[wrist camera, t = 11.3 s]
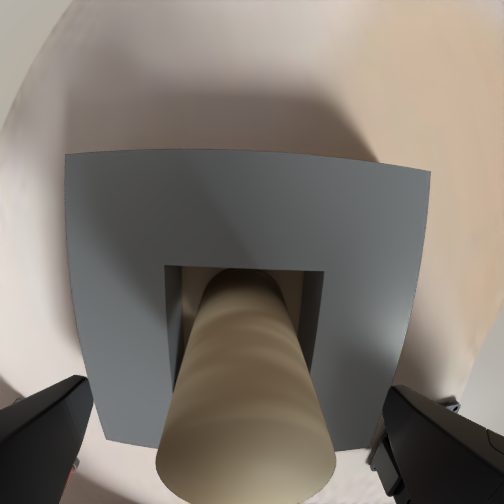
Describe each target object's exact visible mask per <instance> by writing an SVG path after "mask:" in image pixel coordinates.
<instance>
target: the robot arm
mask: <svg viewBox="0 0 504 504" xmlns="http://www.w3.org/2000/svg"><path fill="white" fill-rule="evenodd" d="M93 402H94V400H93V395H92V391H91V387H90V384H89V380H88V378H87V377H85V376H80V375H73V376H71V377H69V378H67V379H65V380H63V381H61V382H59V383H56V384H54V385H52V386H50V387H48V388H46V389H44V390H42V391H40V392H38V393H35V394H33V395H31V396H29V397H27V398H25V399H23V400H21V401H18V402H16V403H14V404H12V405H10V406H8V407H5V408H3V409H1V410H0V504H59V502H60V499H61V496H62V494H63V491H64V488H65V486H66V483H67V480H68V478H69V475H70V472H71V470H72V467H73V465H74V462H75V460H76V457H77V455H78V452H79V450H80V447H81V445H82V442H83V438H84V435H85V431H86V428H87V424H88V421H89V417H90V414H91V411H92V407H93ZM459 409H460V404H459V403H458V402H457V401H454V402H450V403H446V404H442V405H439V404H438V403H436V402H434V401H432V400H430V399H428V398H426V397H424V396H422V395H420V394H419V393H417V392H415V391H413V390H411V389H409V388H407V387H405V386H404V385H397V386H392V387H390V388H389V390H388V393H387V396H386V398H385V401H384V404H383V408H382V413H383V417H384V421H385V425H386V430H385V433H384V435H383V438H382V440H381V441H380V444H379V446H378V448H377V450H376V453H375V455H374V457H373V459H372V462H371V464H370V468H371V470H372V471H377V473H378V475H379V478H380V480H381V482H382V485H383V487H384V490H385V492H386V495H387V496H389V497H391V496H393V497H394V499H395V502H396V504H504V436H502V435H499V434H497V433H495V432H493V431H491V430H489V429H487V430H486V428H485V427H483V426H481V425H479V424H477V423H475V422H473V421H471V420H469V419H467V418H465V417H462V416H461V415H459V414H457V413H458V411H459Z"/></svg>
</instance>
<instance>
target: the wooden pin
mask: <svg viewBox="0 0 504 504" xmlns="http://www.w3.org/2000/svg"><path fill="white" fill-rule="evenodd" d="M335 467H336V455H335V451H334V448H333V445H332V442H331V439H330V436H329V433H328V430H327V426H326V423H325V420H324V417H323V414H322V411H321V408H320V405H319V402H318V399H317V396H316V393H315V390H314V387H313V384H312V381H311V378H310V375H309V372H308V369H307V366H306V363H305V360H304V357H303V354H302V351H301V348H300V345H299V342H298V339H297V336H296V333H295V330H294V327H293V324H292V321H291V318H290V315H289V312H288V309H287V306H286V303H285V300H284V297H283V295H282V292H281V289H280V287H279V286H278V284H277V283H276V281H275V280H274V279H273V278H272V277H271V276H270V275H268V274H267V273H266V272H264V271H262V270H260V269H245V268H228V269H225V270H223V271H221V272H220V273H218V274H217V275H215V276H214V277H213V278H212V279H211V280H210V281H209V283H208V284H207V286H206V287H205V289H204V292H203V295H202V298H201V301H200V305H199V308H198V311H197V314H196V318H195V321H194V324H193V327H192V331H191V334H190V337H189V341H188V344H187V348H186V351H185V354H184V358H183V361H182V365H181V368H180V372H179V375H178V379H177V382H176V386H175V389H174V393H173V396H172V400H171V403H170V407H169V411H168V414H167V418H166V422H165V425H164V429H163V433H162V436H161V440H160V444H159V448H158V452H157V455H156V470H157V473H158V475H159V477H160V479H161V480H162V482H163V483H164V484H165V486H166V487H167V488H168V489H169V490H170V491H172V492H173V493H174V494H175V495H177V496H178V497H180V498H181V499H183V500H185V501H187V502H189V503H191V504H299V503H301V502H303V501H305V500H307V499H309V498H310V497H312V496H314V495H315V494H316V493H318V492H319V491H320V490H321V489H322V488H323V487H324V486H325V485H326V484H327V483H328V482H329V480H330V479H331V477H332V475H333V473H334V471H335Z"/></svg>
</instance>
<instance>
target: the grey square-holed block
mask: <svg viewBox="0 0 504 504" xmlns="http://www.w3.org/2000/svg"><path fill="white" fill-rule="evenodd" d="M430 176H431V171H426V170H420V169H415V168H409V167H403V166H397V165H390V164H384V163H377V162H369V161H362V160H354V159H346V158H337V157H328V156H318V155H307V154H296V153H282V152H267V151H248V150H221V149H148V150H122V151H104V152H89V153H77V154H66V155H65V222H66V240H67V254H68V265H69V274H70V283H71V291H72V298H73V305H74V312H75V318H76V324H77V330H78V335H79V340H80V345H81V350H82V355H83V359H84V364H85V368H86V372H87V376H88V380H89V384H90V387H91V391H92V395H93V399H94V403H95V406H96V410H97V413H98V416H99V419H100V423H101V426H102V429H103V432H104V435H105V438H106V440H111V441H115V442H120V443H126V444H131V445H137V446H143V447H149V448H156V449H158V448H159V444H160V440H161V436H162V433H163V429H164V425H165V422H166V418H167V414H168V411H169V407H170V403H171V400H172V396H173V393H174V389H175V386H176V382H177V379H178V375H179V372H180V368H181V365H182V361H183V358H184V354H185V351H186V348H187V344H188V341H189V337H190V334H191V331H192V327H193V324H194V321H195V318H196V314H197V311H198V308H199V305H200V301H201V298H202V295H203V292H204V289H205V287H206V286H207V284H208V283H209V281H210V280H211V279H212V278H213V277H214V276H215V275H217V274H218V273H220V272H221V271H223V270H225V269H228V268H245V269H260V270H262V271H264V272H266V273H267V274H268V275H270V276H271V277H272V278H273V279H274V280H275V281H276V283H277V284H278V286H279V287H280V289H281V292H282V295H283V297H284V300H285V303H286V306H287V309H288V312H289V315H290V318H291V321H292V324H293V327H294V330H295V333H296V336H297V339H298V342H299V345H300V348H301V351H302V354H303V357H304V360H305V363H306V366H307V369H308V372H309V375H310V378H311V381H312V384H313V387H314V390H315V393H316V396H317V399H318V402H319V405H320V408H321V411H322V414H323V417H324V420H325V423H326V426H327V430H328V433H329V436H330V439H331V442H332V445H333V448H334V451H335V452H336V451H345V450H353V449H360V448H367V447H369V445H370V442H371V440H372V437H373V435H374V432H375V430H376V427H377V424H378V422H379V419H380V416H381V414H382V408H383V404H384V401H385V398H386V396H387V393H388V390H389V388H390V387H391V384H392V381H393V378H394V375H395V372H396V368H397V365H398V361H399V358H400V354H401V351H402V347H403V343H404V340H405V336H406V332H407V328H408V324H409V319H410V315H411V311H412V306H413V301H414V297H415V292H416V287H417V281H418V276H419V270H420V264H421V258H422V252H423V245H424V238H425V230H426V222H427V213H428V203H429V191H430Z"/></svg>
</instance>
